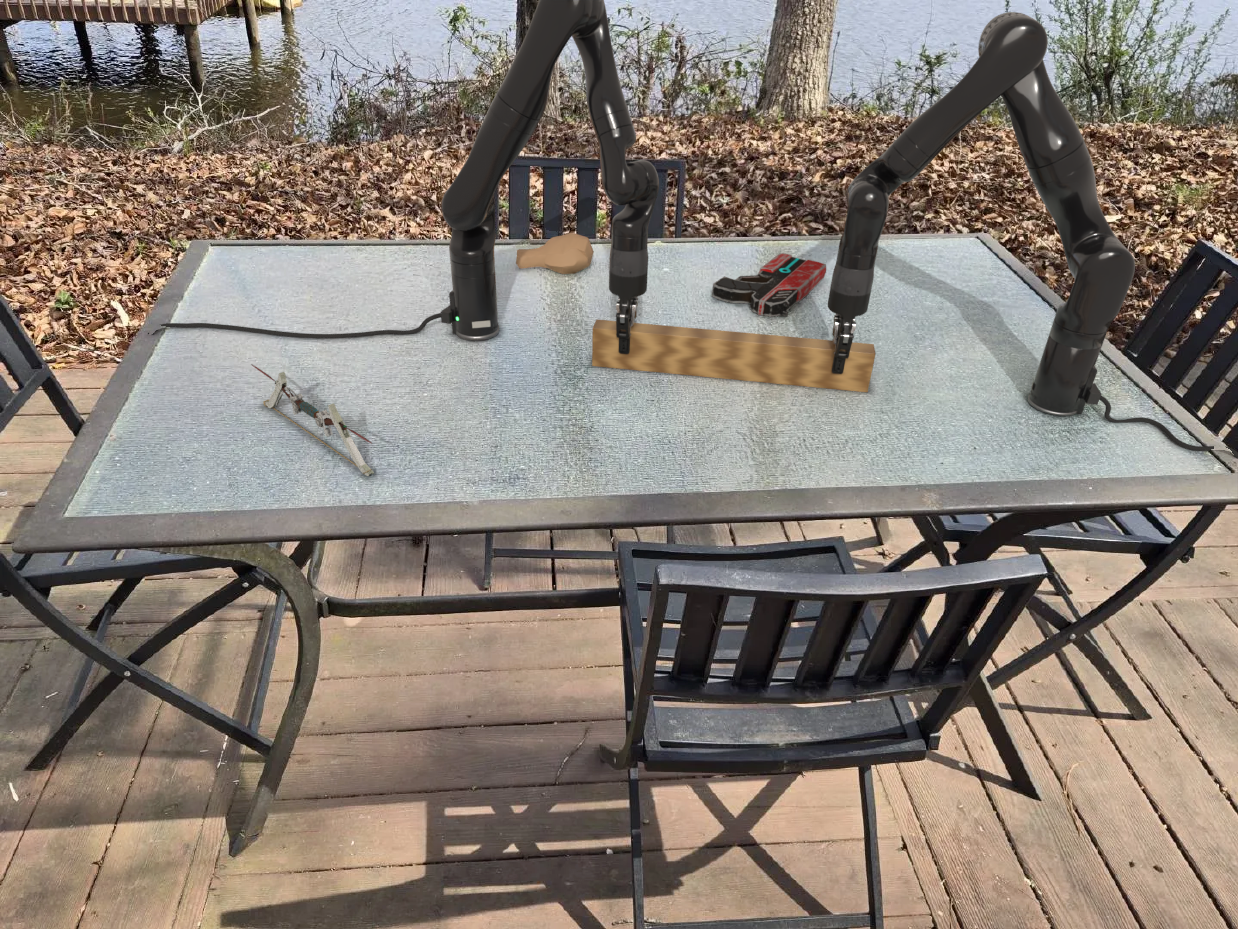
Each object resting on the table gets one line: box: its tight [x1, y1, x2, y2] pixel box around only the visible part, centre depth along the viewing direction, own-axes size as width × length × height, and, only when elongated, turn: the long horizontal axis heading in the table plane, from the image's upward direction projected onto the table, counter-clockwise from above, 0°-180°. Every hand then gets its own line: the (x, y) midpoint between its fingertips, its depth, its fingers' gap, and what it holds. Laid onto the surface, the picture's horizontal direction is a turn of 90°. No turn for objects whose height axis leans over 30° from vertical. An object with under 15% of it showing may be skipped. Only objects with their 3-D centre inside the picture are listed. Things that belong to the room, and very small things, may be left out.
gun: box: [711, 252, 827, 318], centre depth 215 cm, size 4×31×19 cm
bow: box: [250, 363, 375, 477], centre depth 152 cm, size 39×2×10 cm, turn 47°
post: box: [591, 318, 877, 393], centre depth 177 cm, size 56×4×9 cm, turn 81°
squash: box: [515, 232, 595, 275], centre depth 223 cm, size 11×20×9 cm, turn 90°
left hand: (625, 347), depth 180 cm, fingers closed on post, 4 cm apart
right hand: (836, 366), depth 175 cm, fingers closed on post, 4 cm apart
